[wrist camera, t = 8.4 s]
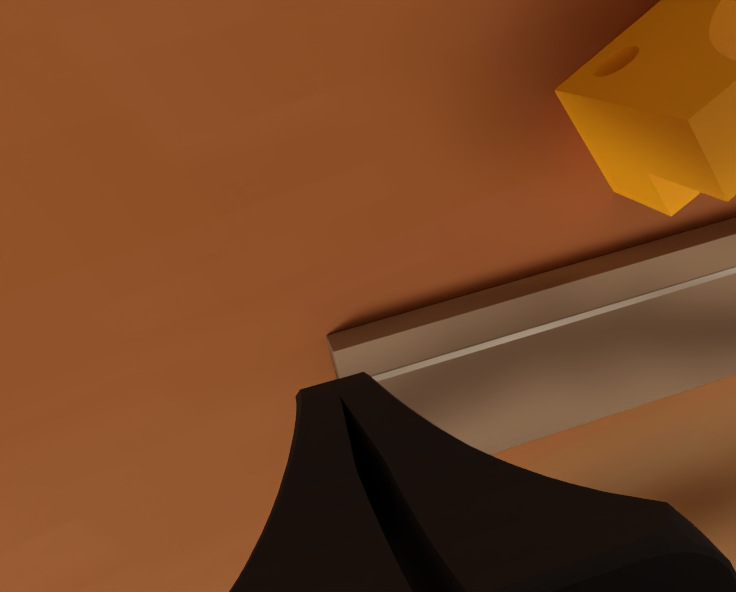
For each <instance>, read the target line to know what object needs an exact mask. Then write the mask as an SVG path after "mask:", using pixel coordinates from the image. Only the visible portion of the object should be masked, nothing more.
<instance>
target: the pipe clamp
mask: <svg viewBox="0 0 736 592" xmlns="http://www.w3.org/2000/svg"><path fill="white" fill-rule="evenodd" d="M554 91H555V93H556V95H557V96H558V98H559V100H560V101H561V103H562V105H563V106H564V108H565V110H566V112H567V113H568V115H569V117H570V118H571V120H572V122H573V123H574V125H575V127H576V129H577V130H578V132H579V134H580V135H581V137H582V139H583V140H584V142H585V144H586V146H587V147H588V149H589V151H590V152H591V154H592V156H593V157H594V159H595V161H596V163H597V164H598V166H599V168H600V169H601V171H602V173H603V174H604V176H605V178H606V180H607V181H608V183H609V185H610V186H611V188H612V190H613V191H614V192H616V193H618V194H620V195H623V196H625V197H627V198H630V199H632V200H634V201H637V202H639V203H641V204H644V205H646V206H648V207H651V208H653V209H655V210H658V211H660V212H662V213H665V214H667V215H669V216H673V215H674V214H675V213H676V212H677V211H679V210H680V209H681V208H682V207H684V206H685V205H686V204H687V203H689V202H690V201H691V200H692V199H693V198H695V197H696V196H697V195H698V194H700V193H701V192H702V193H704V194H707V195H710V196H713V197H716V198H718V199H721V200H724V201H727V202H728V201H729V200H730V199H732V198H733V197H734V196H735V195H736V0H660V1H659V2H658V3H657V4H656V5H655V6H653V7H652V8H651V9H650V10H649V11H647V12H646V13H645V14H644V15H643V16H641V17H640V18H639V19H638V20H637V21H635V22H634V23H633V24H632V25H631V26H630V27H628V28H627V29H626V30H625V31H624V32H622V33H621V34H620V35H619V36H618V37H616V38H615V39H614V40H613V41H612V42H611V43H609V44H608V45H607V46H606V47H605V48H603V49H602V50H601V51H600V52H599V53H597V54H596V55H595V56H594V57H593V58H591V59H590V60H589V61H588V62H587V63H586V64H584V65H583V66H582V67H581V68H580V69H578V70H577V71H576V72H575V73H574V74H572V75H571V76H570V77H569V78H568V79H567V80H565V81H564V82H563V83H562V84H561V85H559V86H558V87H557V88H556V89H555V90H554Z"/></svg>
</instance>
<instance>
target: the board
mask: <svg viewBox="0 0 736 592" xmlns="http://www.w3.org/2000/svg"><path fill="white" fill-rule="evenodd" d="M326 336H327V340H328V344H329V348H330V352H331V356H332V360H333V364H334V368H335V372H336V377H337V379H340V378H343V377H347V376H350V375H354V374H357V373H361V372H365V373H367V374H368V375H370V376H371V377H372V378H373V379H374V380H376V381H377V382H378V383H379V384H380V385H381V386H382V387H384V388H385V389H386V390H387V391H388V392H390V393H391V394H392V395H393V396H395V397H396V398H397V399H399V400H400V401H401V402H402V403H404V404H405V405H407V406H408V407H409V408H411V409H412V410H414V411H415V412H416V413H418V414H419V415H421V416H422V417H424V418H425V419H427V420H428V421H429V422H431V423H433V424H434V425H436V426H437V427H439V428H440V429H442V430H444V431H445V432H447V433H449V434H450V435H452V436H454V437H455V438H457V439H459V440H461V441H462V442H464V443H466V444H468V445H470V446H472V447H474V448H476V449H478V450H480V451H482V452H485V453H487V454H489V455H490V454H493V453H496V452H499V451H502V450H505V449H508V448H511V447H515V446H518V445H521V444H524V443H527V442H530V441H533V440H536V439H539V438H542V437H545V436H548V435H551V434H554V433H557V432H561V431H564V430H567V429H570V428H573V427H576V426H579V425H582V424H585V423H588V422H591V421H594V420H597V419H600V418H603V417H606V416H610V415H613V414H616V413H619V412H622V411H625V410H628V409H631V408H634V407H637V406H640V405H643V404H646V403H649V402H652V401H655V400H659V399H662V398H665V397H668V396H671V395H674V394H677V393H680V392H683V391H686V390H689V389H692V388H695V387H698V386H701V385H704V384H708V383H711V382H714V381H717V380H720V379H723V378H726V377H729V376H732V375H735V374H736V217H735V218H731V219H728V220H724V221H721V222H717V223H714V224H710V225H707V226H704V227H700V228H697V229H693V230H690V231H686V232H683V233H679V234H676V235H672V236H669V237H666V238H662V239H659V240H655V241H652V242H648V243H645V244H641V245H638V246H634V247H631V248H627V249H624V250H621V251H617V252H614V253H610V254H607V255H603V256H600V257H596V258H593V259H589V260H586V261H582V262H579V263H576V264H572V265H569V266H565V267H562V268H558V269H555V270H551V271H548V272H544V273H541V274H538V275H534V276H531V277H527V278H524V279H520V280H517V281H513V282H510V283H506V284H503V285H499V286H496V287H493V288H489V289H486V290H482V291H479V292H475V293H472V294H468V295H465V296H461V297H458V298H454V299H451V300H448V301H444V302H441V303H437V304H434V305H430V306H427V307H423V308H420V309H416V310H413V311H410V312H406V313H403V314H399V315H396V316H392V317H389V318H385V319H382V320H378V321H375V322H371V323H368V324H365V325H361V326H358V327H354V328H351V329H347V330H344V331H340V332H337V333H333V334H330V335H326Z"/></svg>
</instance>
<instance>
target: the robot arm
mask: <svg viewBox="0 0 736 592" xmlns="http://www.w3.org/2000/svg"><path fill="white" fill-rule="evenodd" d="M296 403H297V410H296V421H295V429H294V435H293V440H292V444H291V449H290V454H289V458H288V462H287V466H286V469H285V472H284V475H283V479H282V482H281V485H280V489H279V492H278V495H277V497H276V500H275V503H274V506H273V508H272V511H271V513H270V516H269V518H268V520H267V522H266V525H265V527H264V529H263V532H262V534H261V536H260V538H259V540H258V542H257V544H256V546H255V548H254V550H253V552H252V554H251V556H250V558H249V560H248V561H247V563H246V565H245V567H244V569H243V570H242V572H241V574H240V576H239V577H238V579H237V580H236V582H235V584H234V585H233V587H232V588H231V590H230V591H229V592H736V572H735V570H734V568H733V566H732V564H731V562H730V561H729V560H728V559H727V558H726V557H725V556H724V555H723V554H722V553H721V551H720V550H719V549H718V548H717V547H716V546H715V545H714V544H713V543H712V542H711V541H710V540H709V539H708V538H707V537H706V536H705V535H704V534H703V533H702V532H701V531H700V530H698V529H697V528H696V527H695V526H694V525H693V524H692V523H691V522H690V521H688V520H687V519H686V518H685V517H684V516H682V515H681V514H680V513H679V512H677V511H676V510H675V509H674V508H673V507H672V506H671V505H670V504H668V503H666V502H661V501H655V500H649V499H643V498H637V497H631V496H625V495H619V494H613V493H608V492H603V491H599V490H595V489H591V488H587V487H583V486H579V485H575V484H571V483H567V482H563V481H560V480H557V479H553V478H550V477H546V476H543V475H541V474H538V473H535V472H532V471H529V470H526V469H523V468H521V467H518V466H515V465H512V464H510V463H507V462H505V461H502V460H500V459H498V458H495V457H493V456H491V455H489V454H487V453H485V452H482V451H480V450H478V449H476V448H474V447H472V446H470V445H468V444H466V443H464V442H462V441H461V440H459V439H457V438H455V437H454V436H452V435H450V434H449V433H447V432H445V431H444V430H442V429H440V428H439V427H437V426H436V425H434V424H433V423H431V422H429V421H428V420H427V419H425V418H424V417H422V416H421V415H419V414H418V413H416V412H415V411H414V410H412V409H411V408H409V407H408V406H407V405H405V404H404V403H402V402H401V401H400V400H399V399H397V398H396V397H395V396H393V395H392V394H391V393H390V392H388V391H387V390H386V389H385V388H384V387H382V386H381V385H380V384H379V383H378V382H377V381H376V380H374V379H373V378H372V377H371V376H370V375H368V374H367V373H365V372H361V373H357V374H354V375H350V376H347V377H343V378H340V379H336V380H333V381H329V382H326V383H322V384H318V385H315V386H311V387H308V388H304V389H301V390H300V391H299V392H298V394H297V395H296Z"/></svg>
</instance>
